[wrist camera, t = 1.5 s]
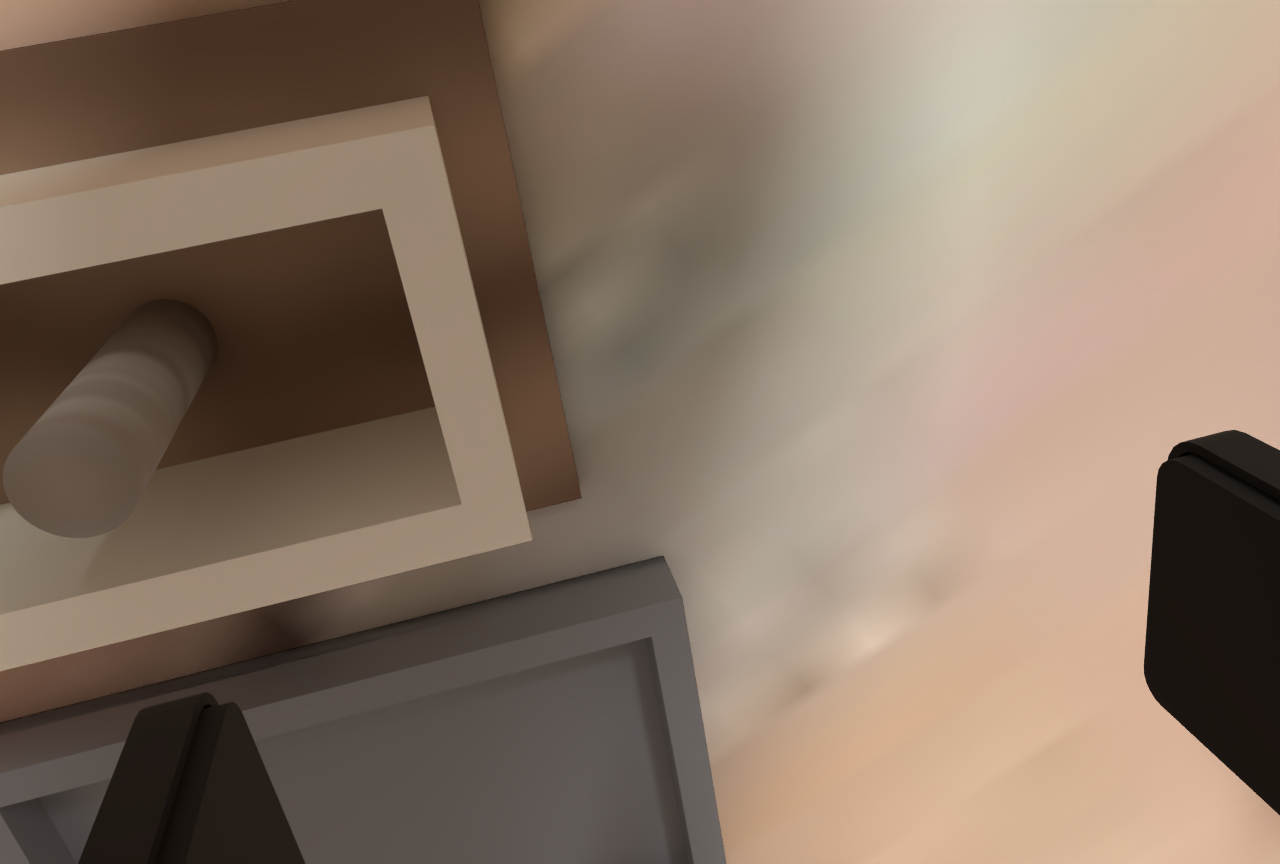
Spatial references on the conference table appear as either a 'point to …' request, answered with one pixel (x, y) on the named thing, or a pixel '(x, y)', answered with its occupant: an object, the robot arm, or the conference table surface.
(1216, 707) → the robot arm
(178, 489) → the collar
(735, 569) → the conference table surface
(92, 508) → the stake stand
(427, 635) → the tray
